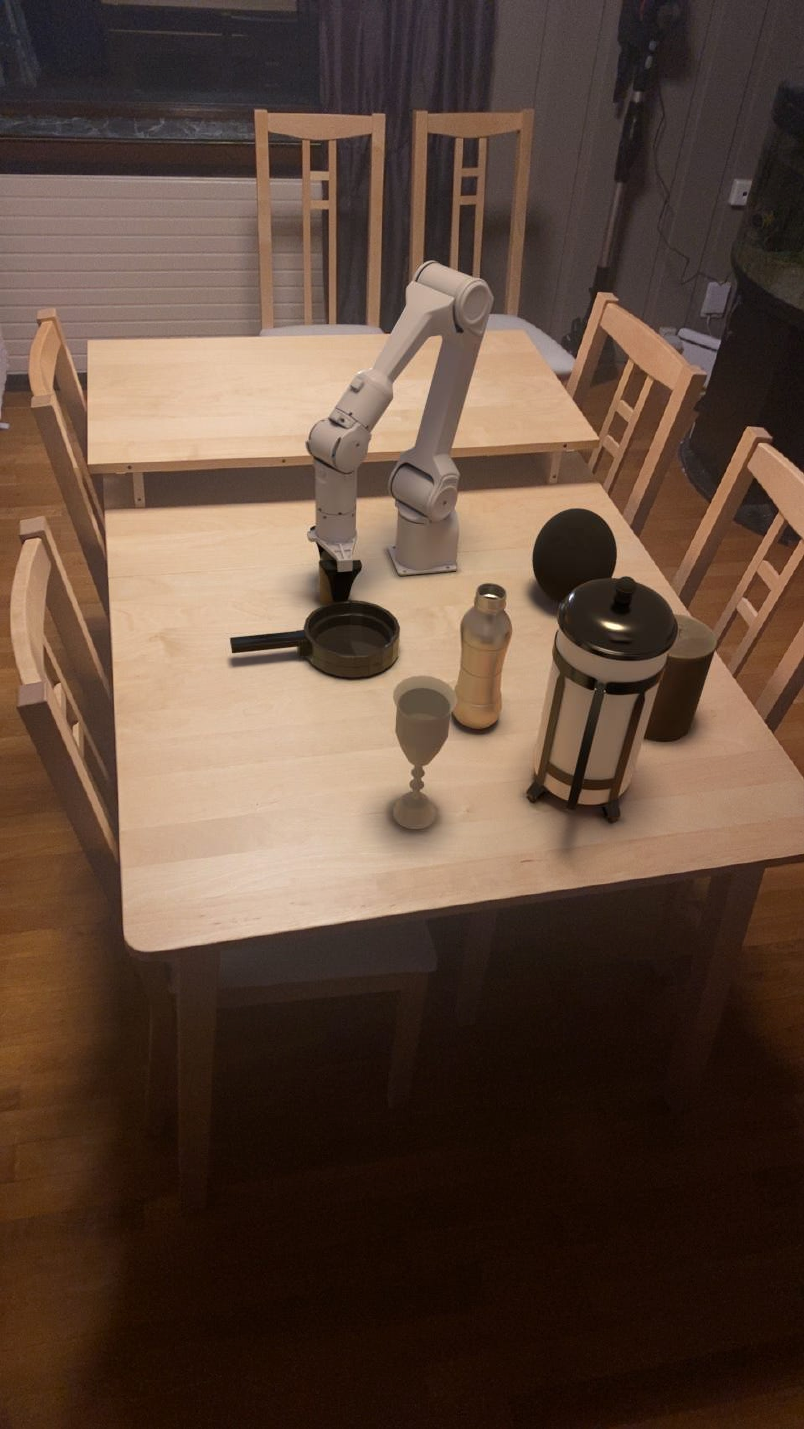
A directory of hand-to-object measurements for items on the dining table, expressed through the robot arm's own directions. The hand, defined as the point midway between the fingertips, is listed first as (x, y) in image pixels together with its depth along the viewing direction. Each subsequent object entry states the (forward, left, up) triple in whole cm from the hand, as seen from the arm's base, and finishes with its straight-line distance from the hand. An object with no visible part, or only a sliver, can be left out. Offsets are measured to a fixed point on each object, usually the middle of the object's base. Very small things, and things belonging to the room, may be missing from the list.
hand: (335, 586), depth 148 cm
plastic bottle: (-13, +30, -3) cm, 32 cm away
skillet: (0, +13, -2) cm, 13 cm away
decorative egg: (-35, +6, -3) cm, 36 cm away
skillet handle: (+11, +13, -2) cm, 17 cm away
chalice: (-1, +45, -3) cm, 45 cm away
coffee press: (-22, +45, -3) cm, 50 cm away
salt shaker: (0, 0, -2) cm, 3 cm away
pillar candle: (-37, +34, -3) cm, 50 cm away
